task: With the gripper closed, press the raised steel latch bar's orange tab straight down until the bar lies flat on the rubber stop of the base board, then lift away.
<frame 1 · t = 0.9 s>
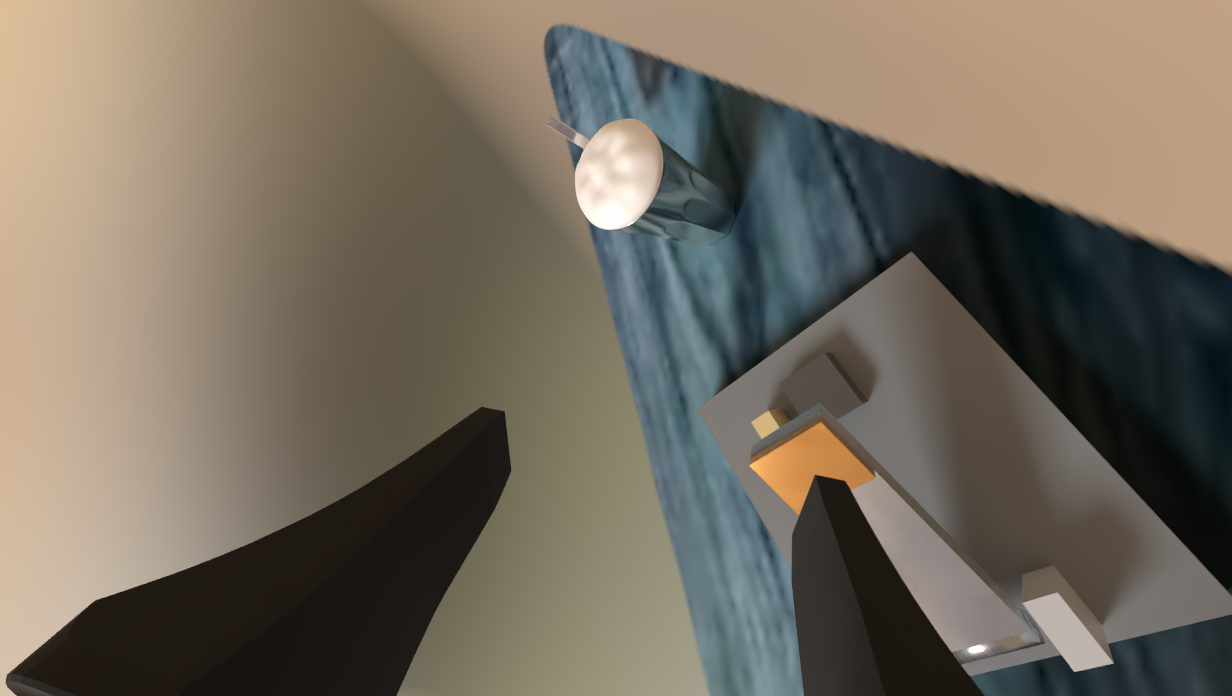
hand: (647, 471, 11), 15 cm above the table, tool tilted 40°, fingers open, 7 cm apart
base board: (896, 473, 21), on the table
milkshake: (707, 213, 27), on the table
latch bar: (893, 544, 16), point 6 cm above the table, hinge at 30.0°
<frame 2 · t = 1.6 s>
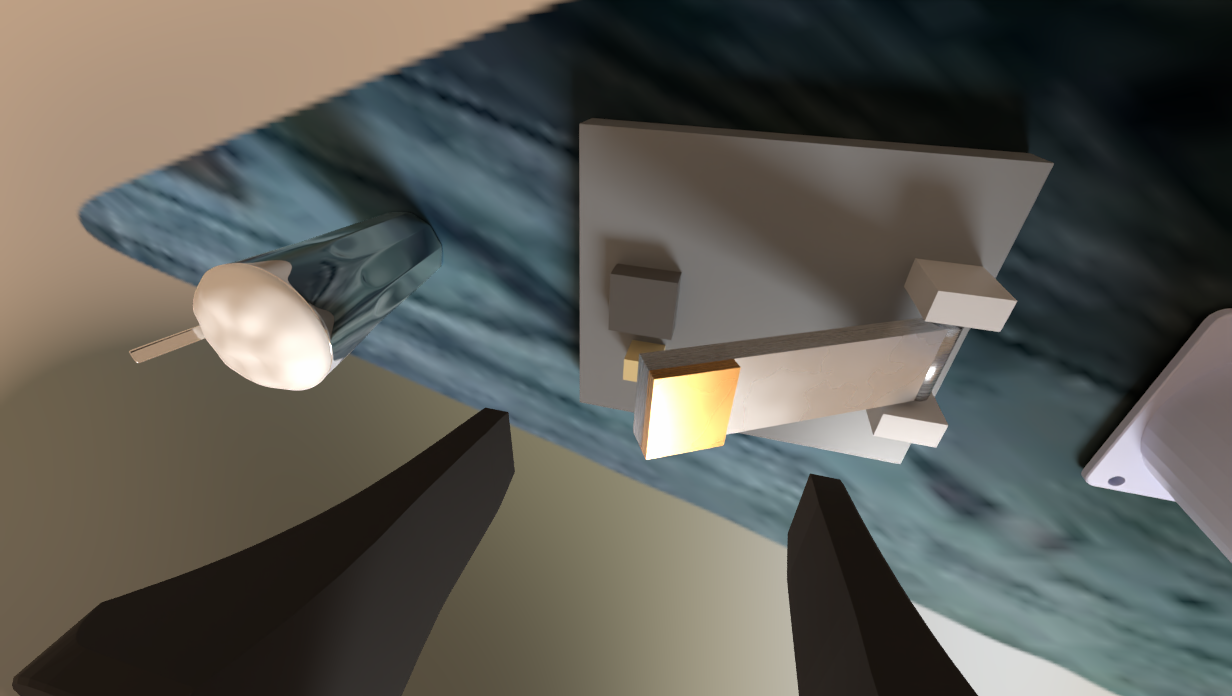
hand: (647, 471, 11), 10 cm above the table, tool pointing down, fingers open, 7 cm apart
base board: (757, 295, 19), on the table
milkshake: (406, 243, 22), on the table
latch bar: (806, 380, 15), point 6 cm above the table, hinge at 30.0°
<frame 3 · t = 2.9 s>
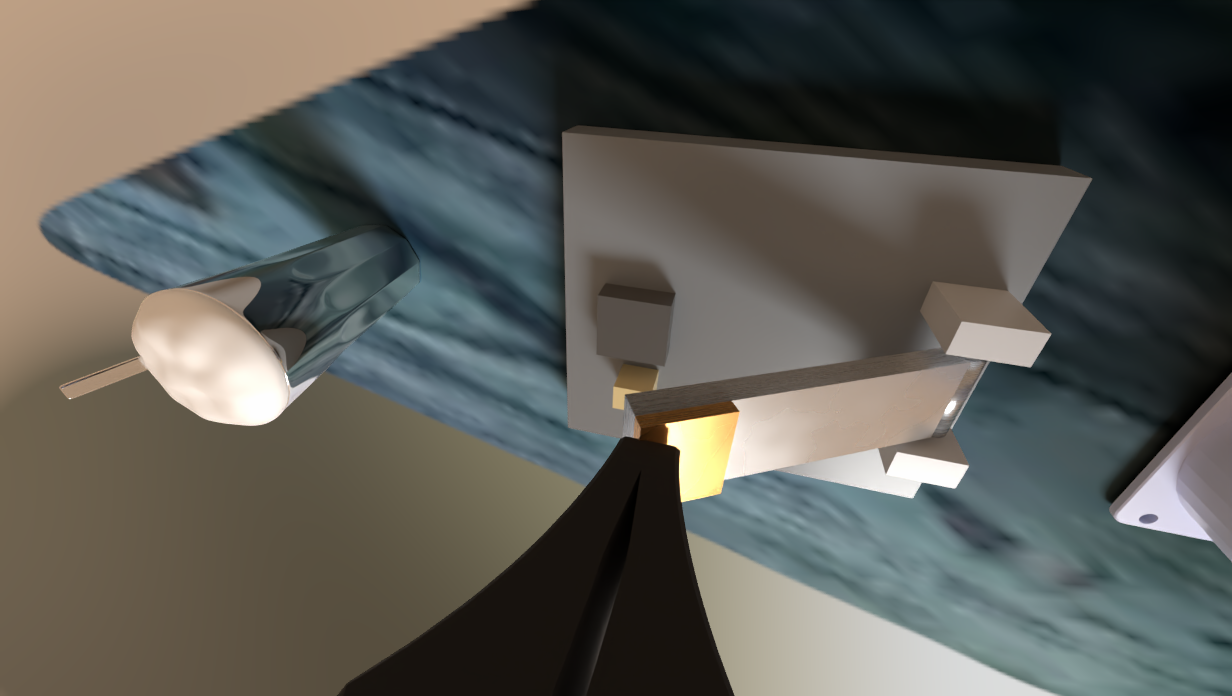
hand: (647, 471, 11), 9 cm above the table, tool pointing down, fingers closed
base board: (758, 316, 18), on the table
milkshake: (382, 258, 21), on the table
latch bar: (813, 419, 13), point 6 cm above the table, hinge at 30.0°, touching gripper
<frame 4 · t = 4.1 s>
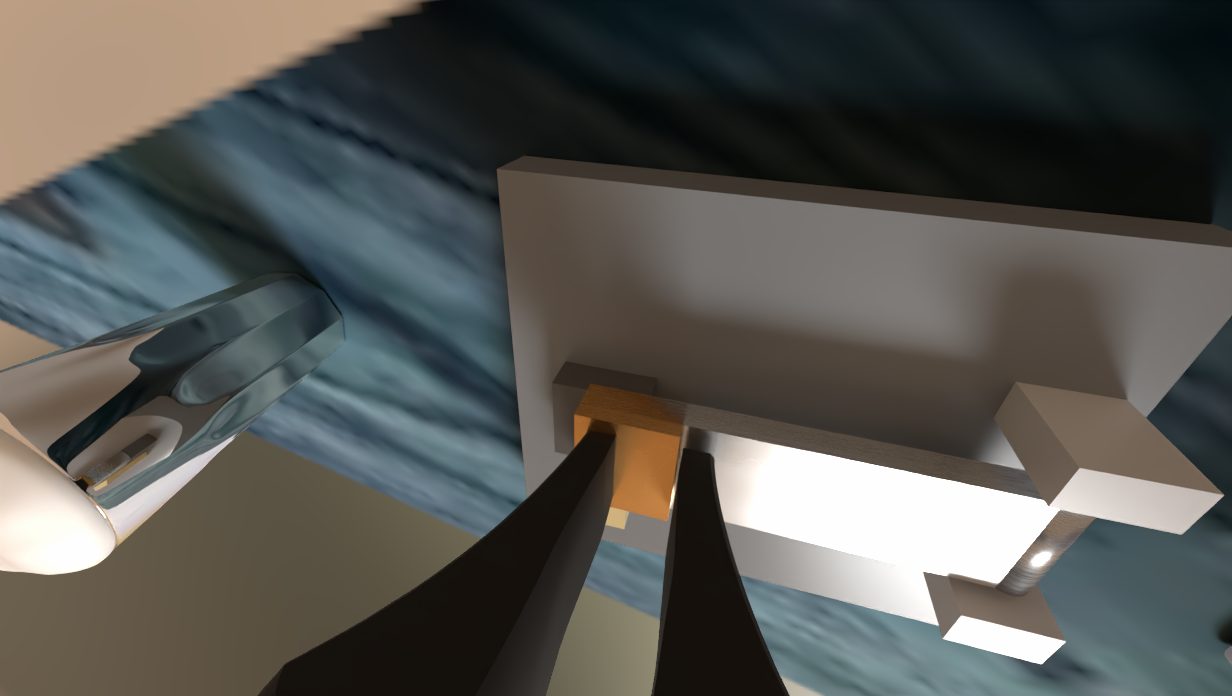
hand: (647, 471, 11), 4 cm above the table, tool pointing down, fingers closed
base board: (767, 401, 14), on the table
milkshake: (299, 310, 17), on the table
latch bar: (801, 489, 11), point 3 cm above the table, hinge at -0.7°, touching base board, gripper
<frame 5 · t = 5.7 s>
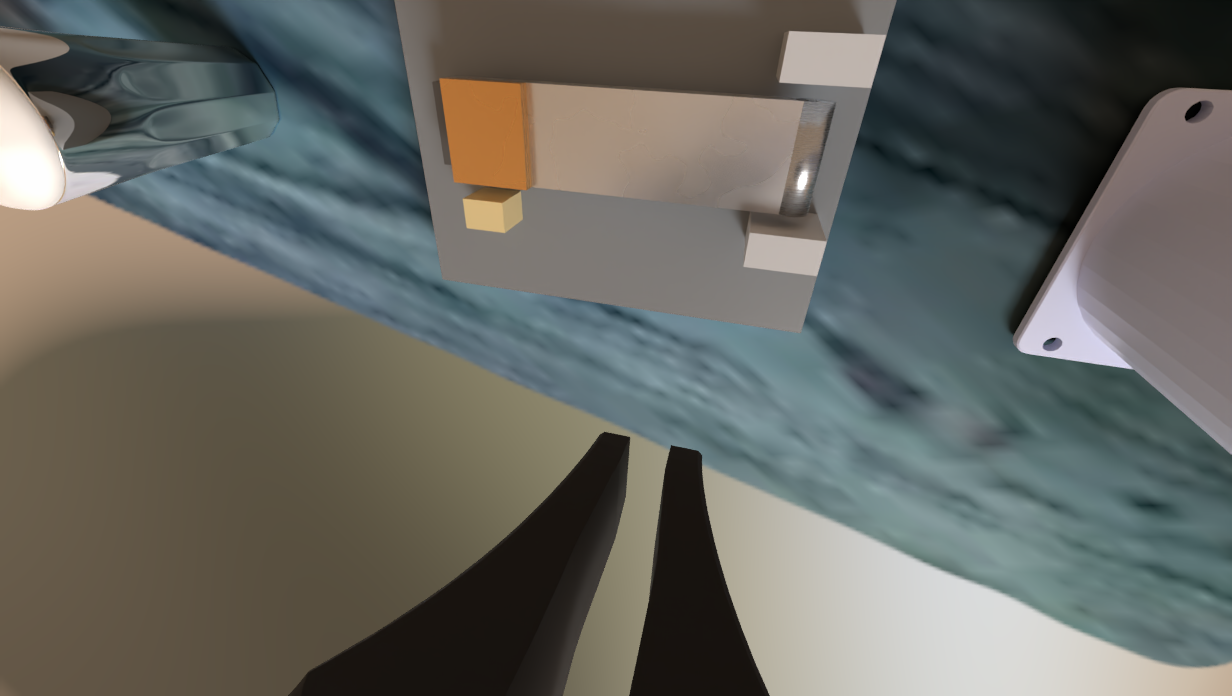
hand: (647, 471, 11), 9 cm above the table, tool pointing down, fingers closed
base board: (625, 126, 16), on the table
milkshake: (239, 95, 19), on the table
latch bar: (626, 144, 14), point 3 cm above the table, hinge at -0.6°, touching base board
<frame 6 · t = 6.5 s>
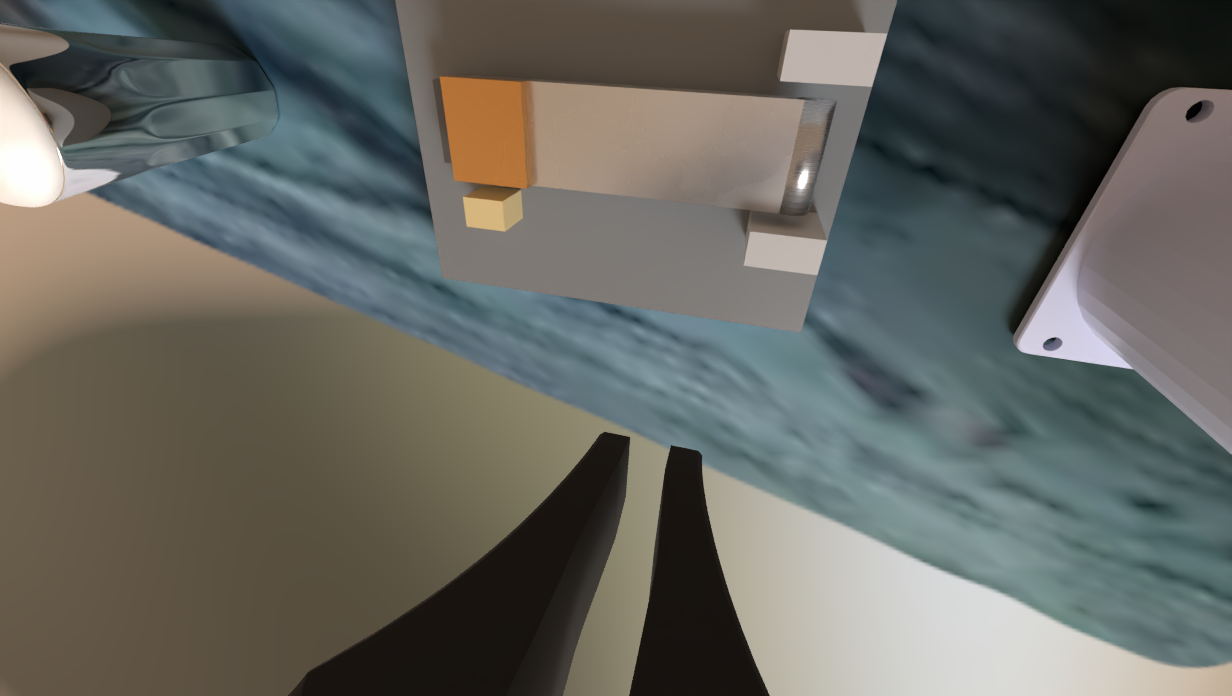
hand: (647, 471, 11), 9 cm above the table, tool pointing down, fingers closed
base board: (626, 125, 16), on the table
milkshake: (239, 92, 19), on the table
latch bar: (627, 143, 14), point 3 cm above the table, hinge at -0.6°, touching base board
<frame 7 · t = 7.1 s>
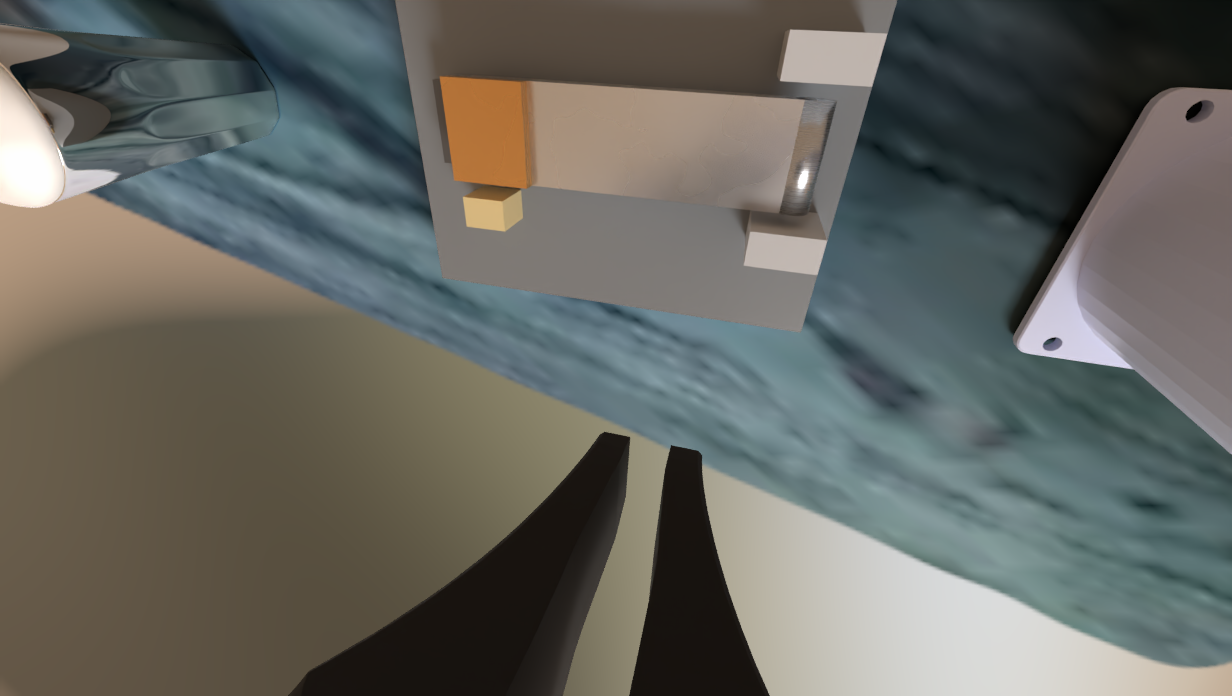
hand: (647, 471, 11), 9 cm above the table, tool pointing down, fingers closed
base board: (626, 125, 16), on the table
milkshake: (239, 92, 19), on the table
latch bar: (627, 143, 14), point 3 cm above the table, hinge at -0.6°, touching base board
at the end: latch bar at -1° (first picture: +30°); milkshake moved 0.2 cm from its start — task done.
